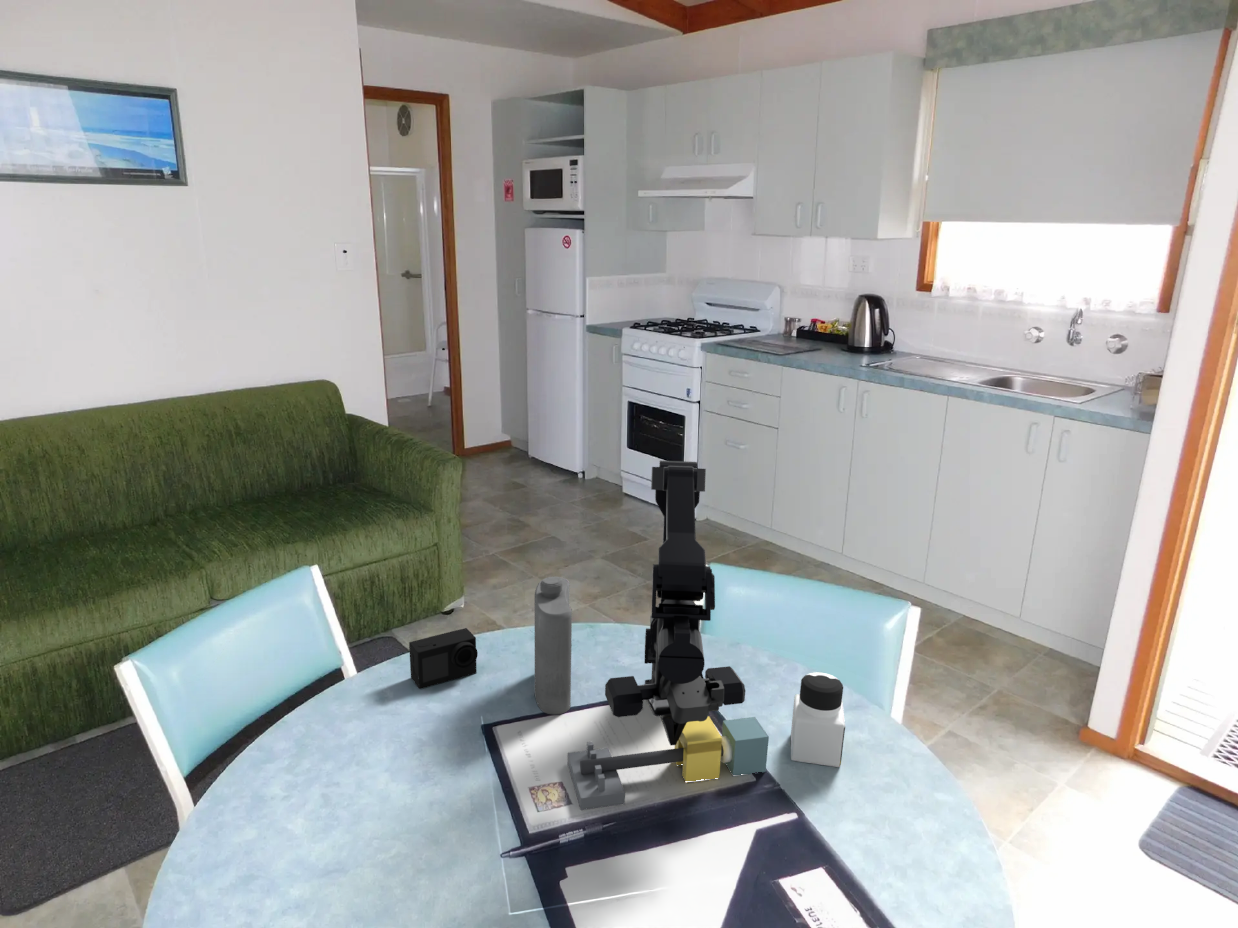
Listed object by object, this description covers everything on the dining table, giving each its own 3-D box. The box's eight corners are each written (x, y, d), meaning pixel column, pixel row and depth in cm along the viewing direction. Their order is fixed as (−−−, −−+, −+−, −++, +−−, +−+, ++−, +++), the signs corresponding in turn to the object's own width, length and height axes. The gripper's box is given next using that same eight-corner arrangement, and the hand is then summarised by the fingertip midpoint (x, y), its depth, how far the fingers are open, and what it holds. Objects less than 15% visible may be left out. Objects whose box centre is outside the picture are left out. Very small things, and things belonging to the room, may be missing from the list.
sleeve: (673, 759, 120) (676, 719, 118) (706, 755, 121) (708, 715, 119) (685, 783, 115) (687, 741, 113) (719, 778, 116) (722, 737, 114)
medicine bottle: (840, 768, 120) (849, 695, 116) (790, 761, 121) (797, 689, 118) (838, 739, 126) (846, 670, 123) (790, 733, 128) (797, 664, 124)
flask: (534, 667, 144) (534, 562, 139) (568, 667, 145) (569, 561, 139) (534, 716, 130) (534, 601, 125) (571, 715, 131) (572, 600, 125)
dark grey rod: (584, 797, 112) (585, 759, 110) (577, 774, 117) (578, 737, 115) (765, 772, 118) (768, 736, 116) (752, 751, 123) (754, 716, 121)
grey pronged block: (567, 764, 119) (567, 740, 118) (608, 759, 120) (608, 735, 119) (580, 810, 109) (581, 785, 108) (624, 804, 111) (625, 779, 110)
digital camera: (421, 693, 136) (419, 655, 134) (410, 678, 140) (408, 641, 138) (479, 676, 141) (479, 639, 139) (467, 662, 146) (466, 626, 144)
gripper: (625, 681, 102) (621, 788, 106) (765, 667, 106) (756, 771, 111) (605, 639, 112) (602, 738, 117) (733, 627, 117) (726, 723, 121)
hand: (672, 743), depth 116 cm, fingers closed
